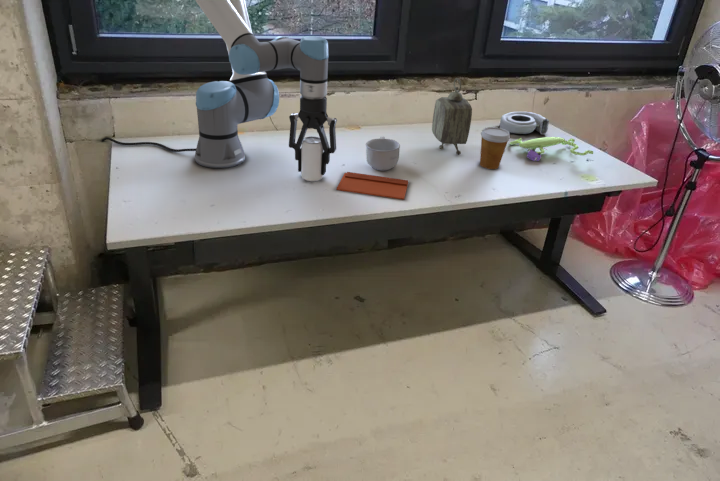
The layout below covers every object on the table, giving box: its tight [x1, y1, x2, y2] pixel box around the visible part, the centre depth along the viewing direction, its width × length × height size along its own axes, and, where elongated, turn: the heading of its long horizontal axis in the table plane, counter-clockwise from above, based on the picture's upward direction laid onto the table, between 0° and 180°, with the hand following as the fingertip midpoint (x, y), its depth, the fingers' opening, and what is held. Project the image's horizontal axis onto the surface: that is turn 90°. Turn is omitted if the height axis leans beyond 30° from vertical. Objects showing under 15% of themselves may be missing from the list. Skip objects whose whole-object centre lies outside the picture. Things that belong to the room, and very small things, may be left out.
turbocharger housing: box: [499, 111, 550, 135], centre depth 215 cm, size 17×6×15 cm
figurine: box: [508, 136, 594, 162], centre depth 193 cm, size 18×27×6 cm
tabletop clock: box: [431, 77, 473, 156], centre depth 185 cm, size 14×9×25 cm, turn 9°
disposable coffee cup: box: [479, 126, 511, 170], centre depth 178 cm, size 10×10×12 cm
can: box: [300, 136, 324, 182], centre depth 160 cm, size 6×6×12 cm
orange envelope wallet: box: [336, 171, 409, 201], centre depth 161 cm, size 20×12×1 cm, turn 79°
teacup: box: [365, 136, 401, 171], centre depth 174 cm, size 14×11×8 cm
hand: (312, 171), depth 162 cm, fingers closed on can, 6 cm apart
